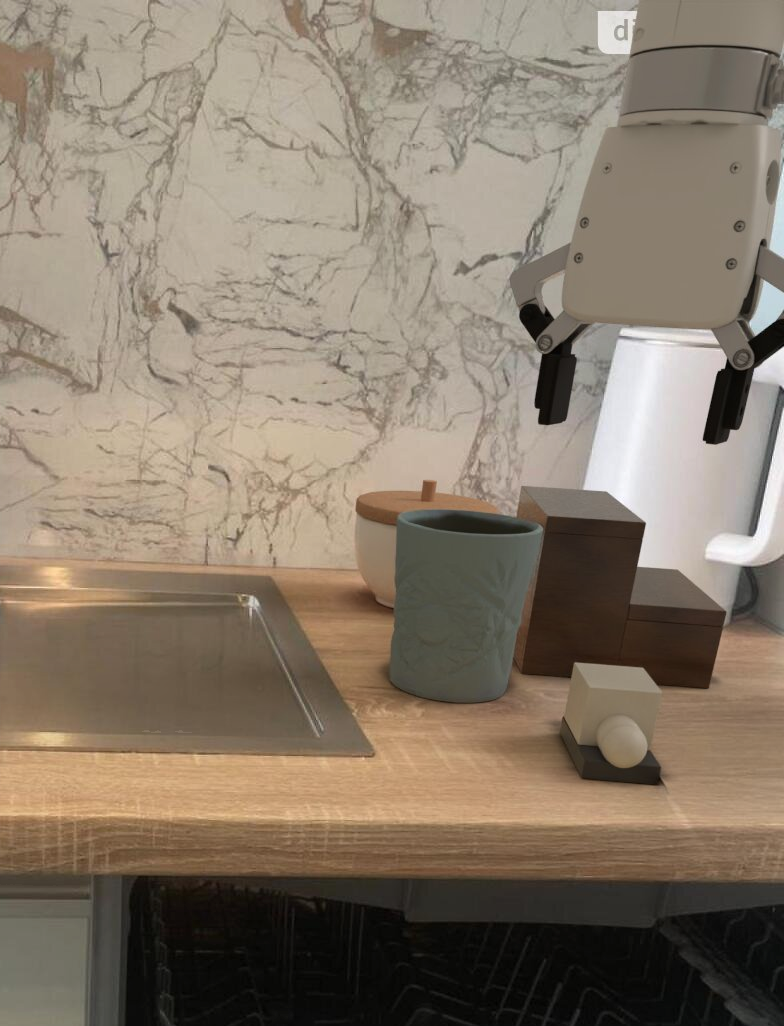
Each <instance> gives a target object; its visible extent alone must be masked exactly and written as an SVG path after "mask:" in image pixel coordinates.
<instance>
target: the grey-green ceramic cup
mask: <svg viewBox="0 0 784 1026" xmlns="http://www.w3.org/2000/svg"><path fill="white" fill-rule="evenodd" d="M542 533H543V528H542V526H540V525H539V524H537V523H535V522H532V521H529V520H525V519H521V518H516V516H511V515H506V514H500V513H498V514H493V513H485V512H476V511H467V510H449V509H429V510H414V511H408V512H404V513H401V514H400V515H398V516H397V533H396V558H395V577H394V580H395V587H396V596H395V604H394V608H393V616H394V617H393V618H394V622H393V632H392V635H391V641H390V654H389V655H390V656H389V681H390V683H392V685H393V686H395V687H396V688H398V689H399V690H401V691H403V692H406V693H408V694H410V695H414V696H416V697H420V698H422V699H427V700H433V701H439V702H446V703H447V702H448V703H458V704H474V703H475V704H476V703H484V702H490V701H494V700H497V699H499V698H501V697H503V695H505V692H506V690H507V688H508V684H509V680H510V676H511V672H512V667H513V662H514V649H515V642H516V637H517V631H518V629H519V627H520V624H521V615H522V611H523V607H524V602H525V597H526V593H527V590H528V587H529V583H530V580H531V577H532V574H533V570H534V566H535V562H536V558H537V554H538V550H539V546H540V541H541V537H542Z"/></svg>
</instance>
